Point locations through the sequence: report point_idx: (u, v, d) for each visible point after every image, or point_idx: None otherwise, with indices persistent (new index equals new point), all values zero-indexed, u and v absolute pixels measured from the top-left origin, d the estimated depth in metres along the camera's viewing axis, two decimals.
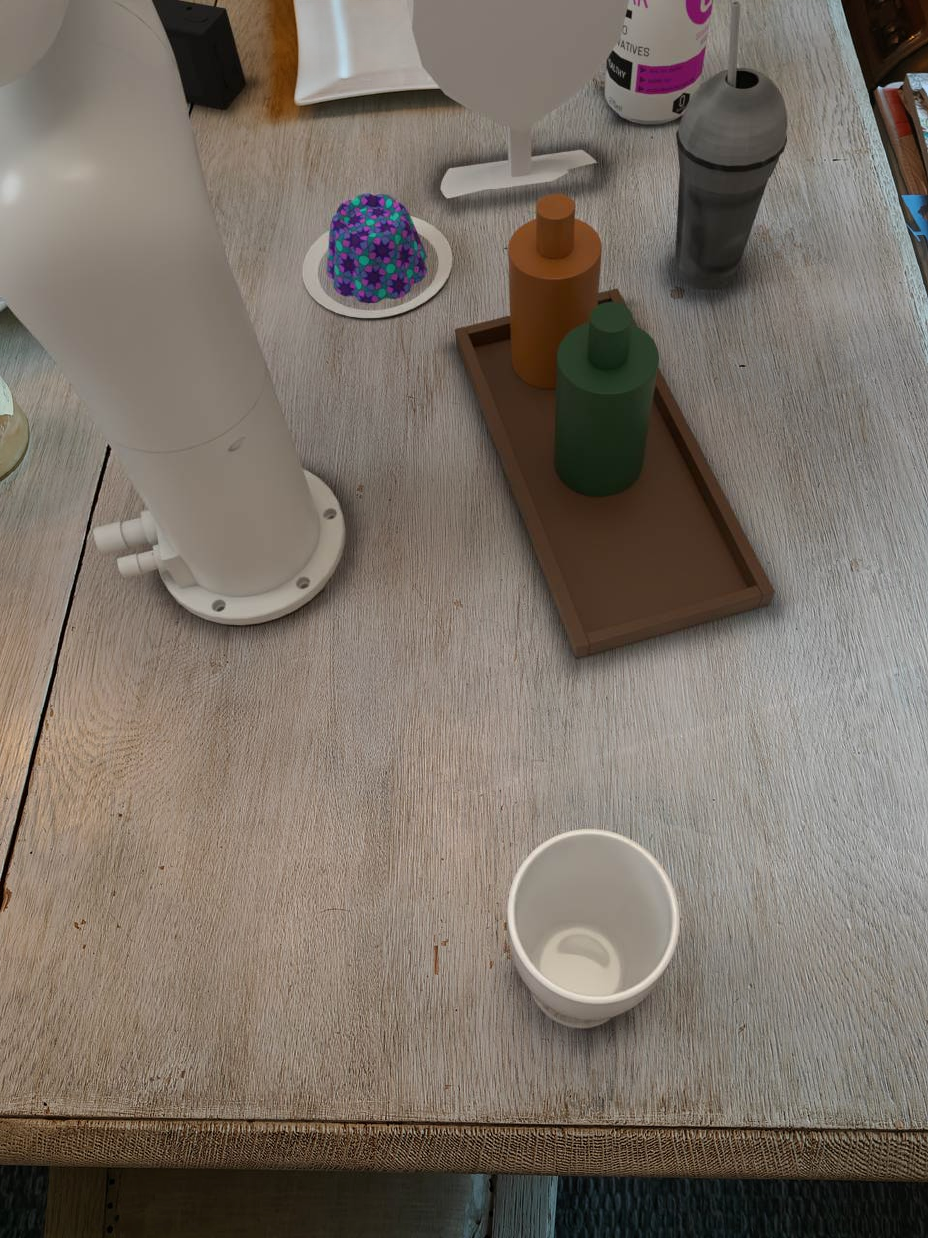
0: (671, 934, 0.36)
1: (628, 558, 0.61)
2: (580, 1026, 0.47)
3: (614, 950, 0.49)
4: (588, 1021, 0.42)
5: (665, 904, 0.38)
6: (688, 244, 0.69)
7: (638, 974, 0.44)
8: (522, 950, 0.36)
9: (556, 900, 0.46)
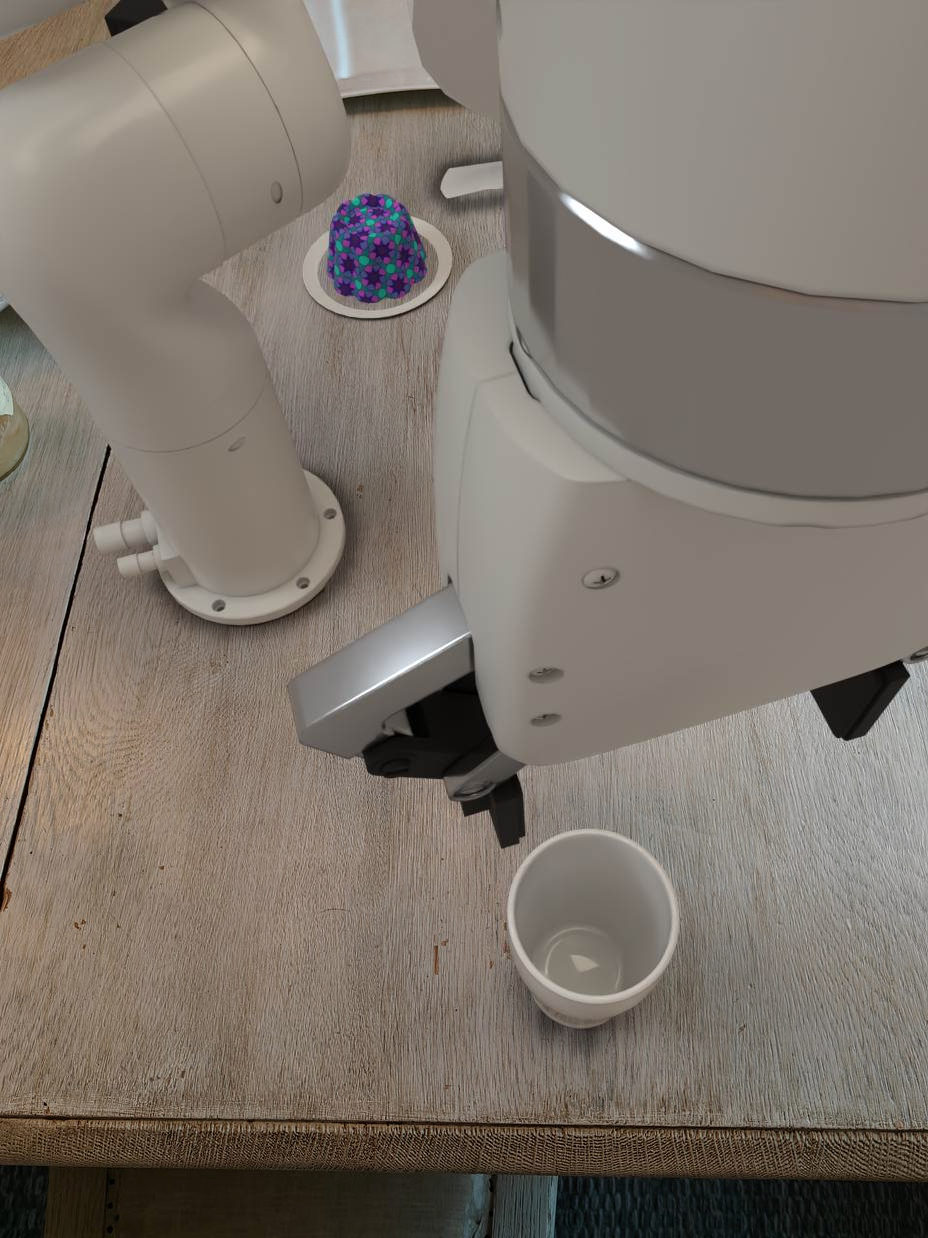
0: (671, 934, 0.36)
1: None
2: (580, 1026, 0.47)
3: (614, 950, 0.49)
4: (588, 1021, 0.42)
5: (665, 904, 0.38)
6: None
7: (638, 974, 0.44)
8: (522, 950, 0.36)
9: (556, 900, 0.46)
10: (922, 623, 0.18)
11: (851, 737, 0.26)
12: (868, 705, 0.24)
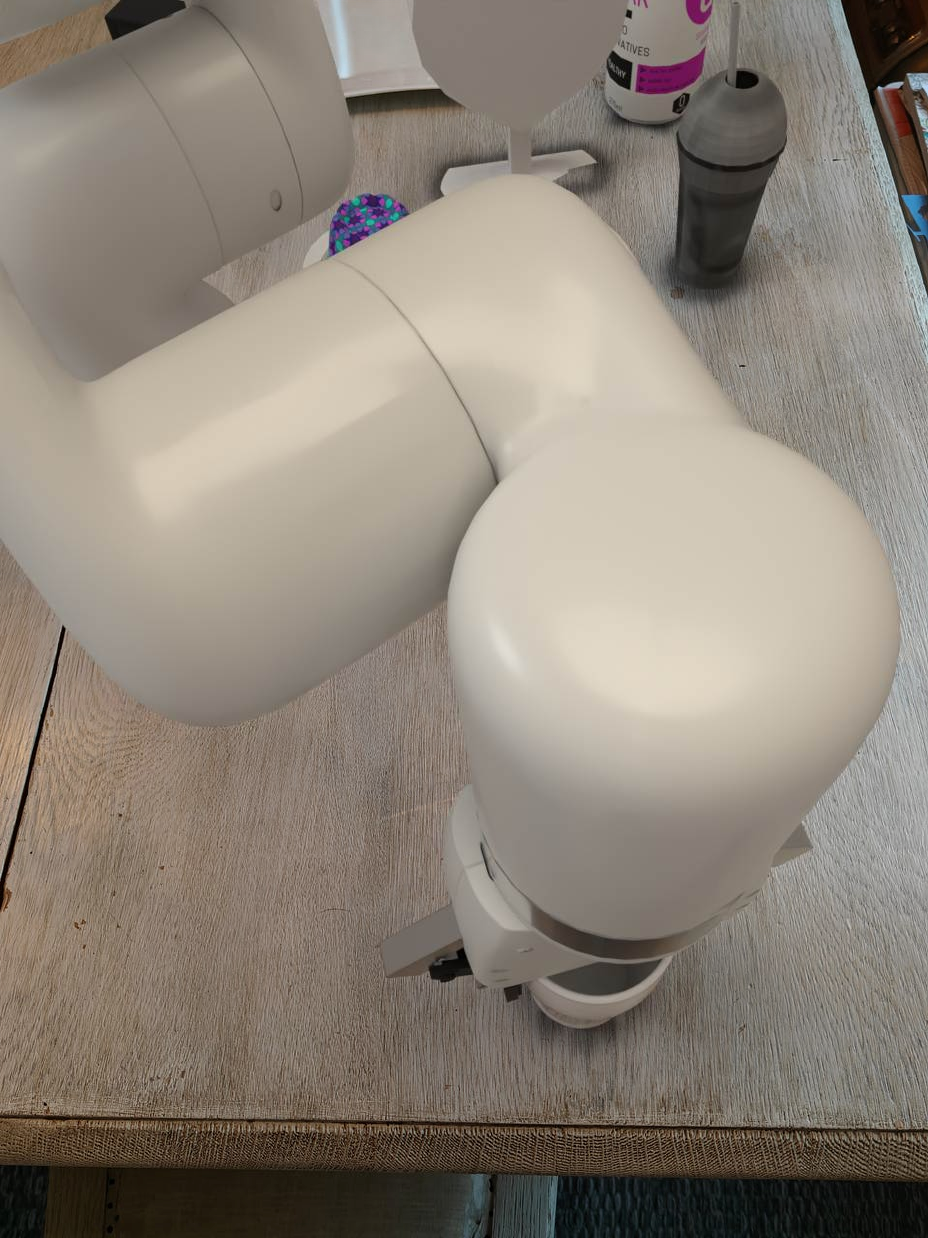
0: None
1: None
2: (580, 1026, 0.47)
3: None
4: (588, 1021, 0.42)
5: None
6: (688, 244, 0.69)
7: (638, 974, 0.44)
8: None
9: None
10: None
11: None
12: None
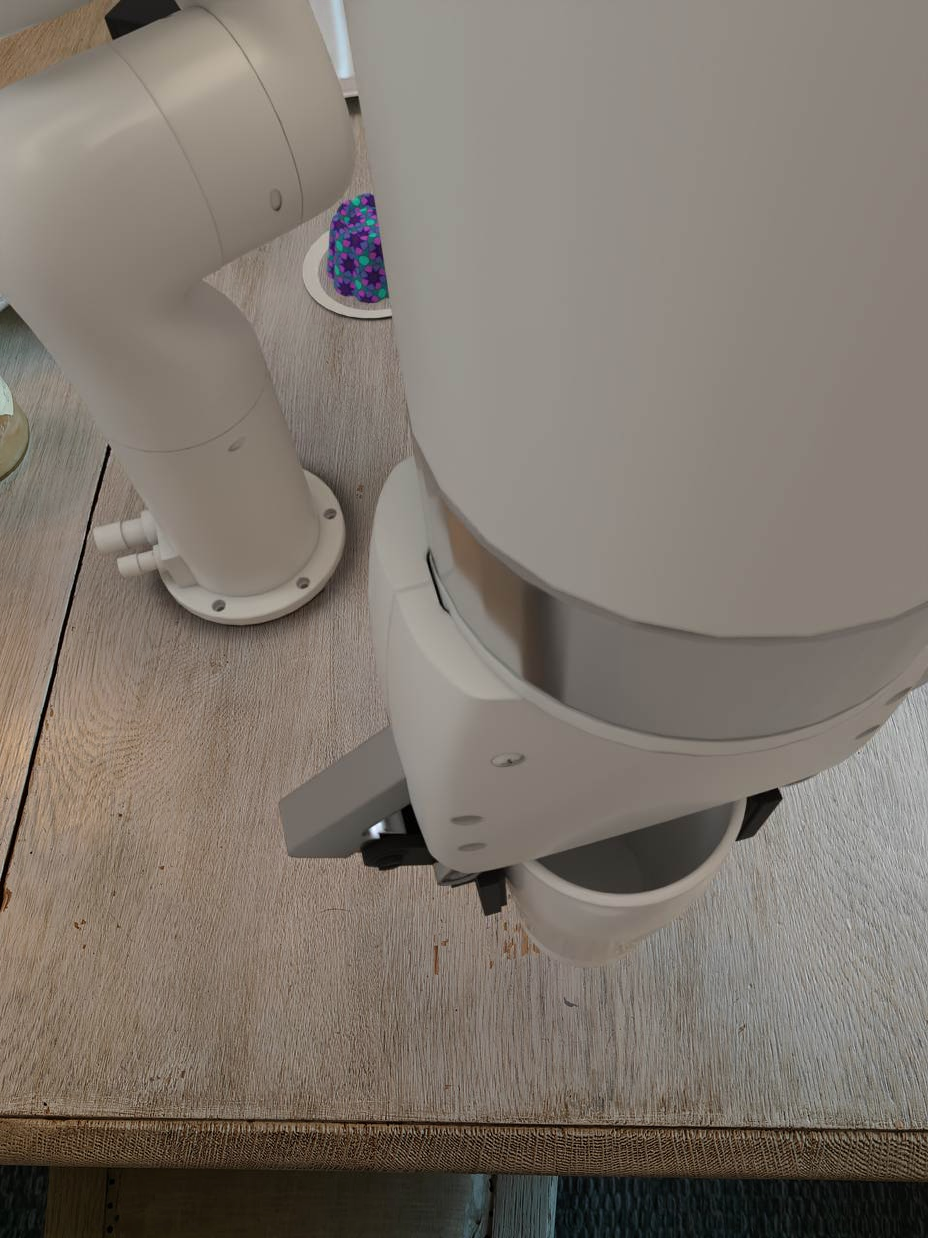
0: (735, 804, 0.24)
1: None
2: (586, 964, 0.35)
3: (631, 865, 0.36)
4: (601, 948, 0.29)
5: None
6: None
7: None
8: None
9: None
10: (826, 755, 0.20)
11: (739, 839, 0.28)
12: (750, 817, 0.26)
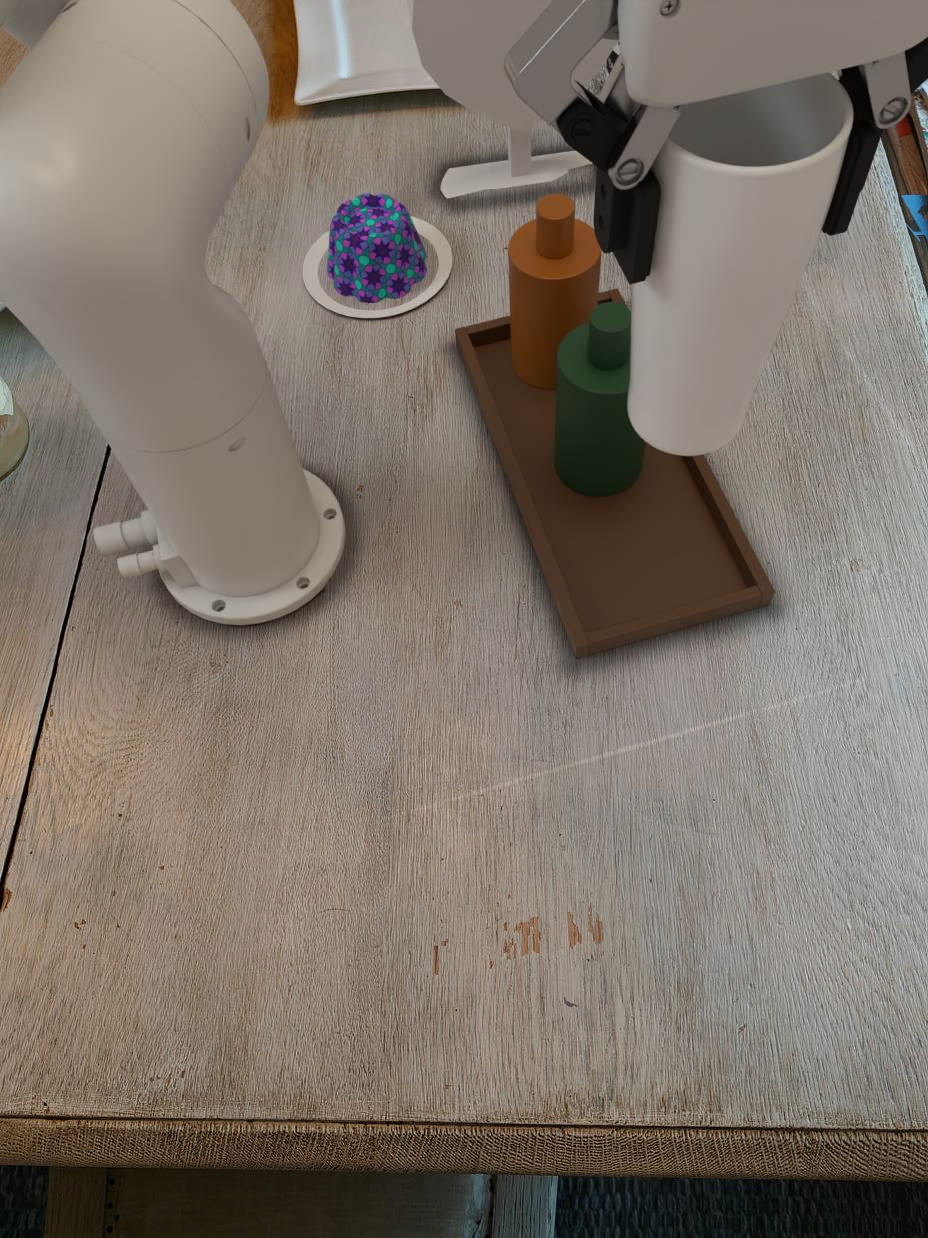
0: (844, 119, 0.30)
1: (628, 558, 0.61)
2: (693, 438, 0.41)
3: None
4: (720, 344, 0.36)
5: (826, 135, 0.32)
6: None
7: None
8: None
9: None
10: None
11: (836, 227, 0.34)
12: (849, 180, 0.33)
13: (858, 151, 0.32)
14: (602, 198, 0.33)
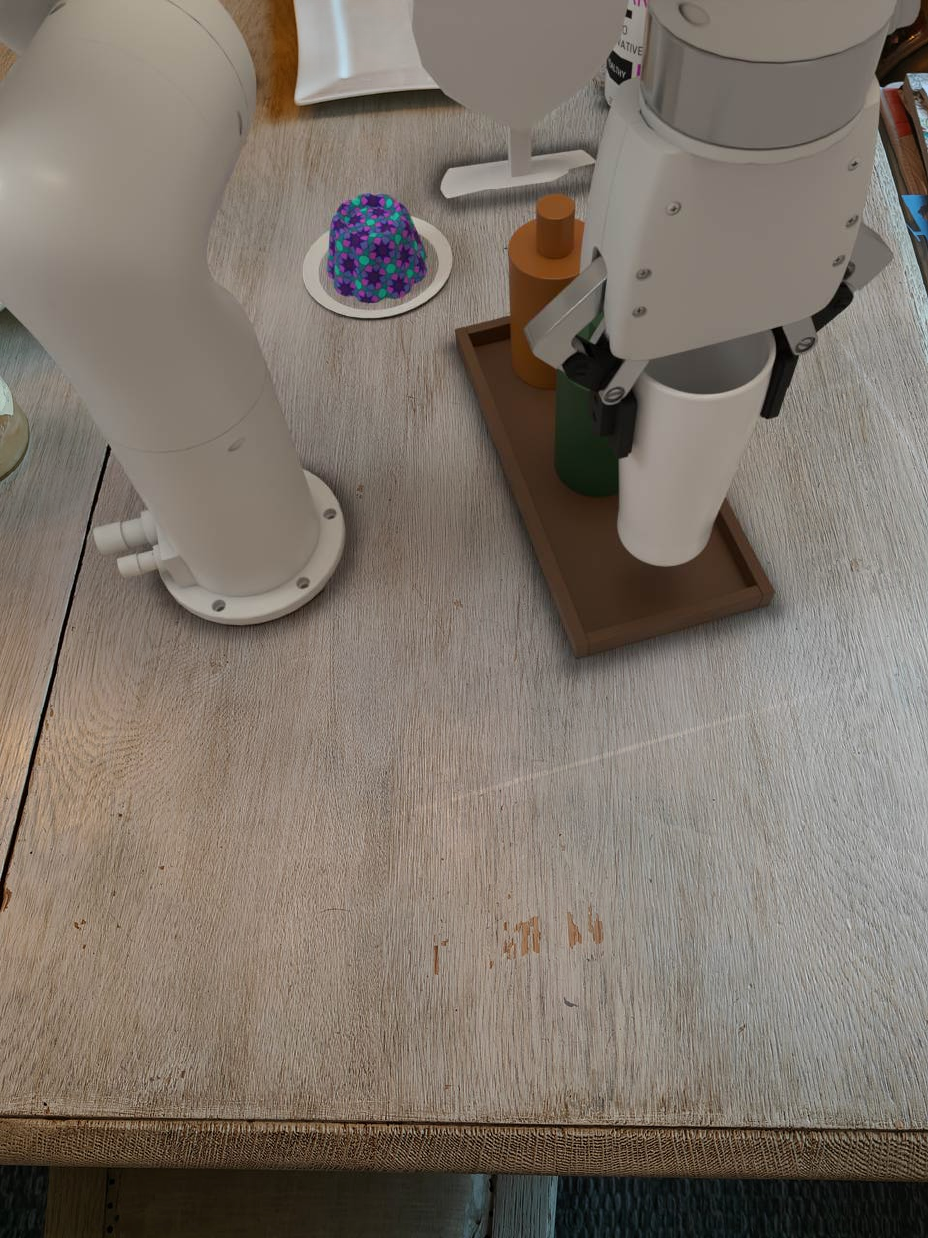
0: (769, 354, 0.42)
1: (628, 558, 0.61)
2: (668, 555, 0.53)
3: None
4: (685, 497, 0.47)
5: (759, 355, 0.44)
6: None
7: None
8: None
9: None
10: (818, 280, 0.38)
11: (770, 414, 0.46)
12: (777, 386, 0.44)
13: (781, 370, 0.43)
14: (595, 402, 0.44)
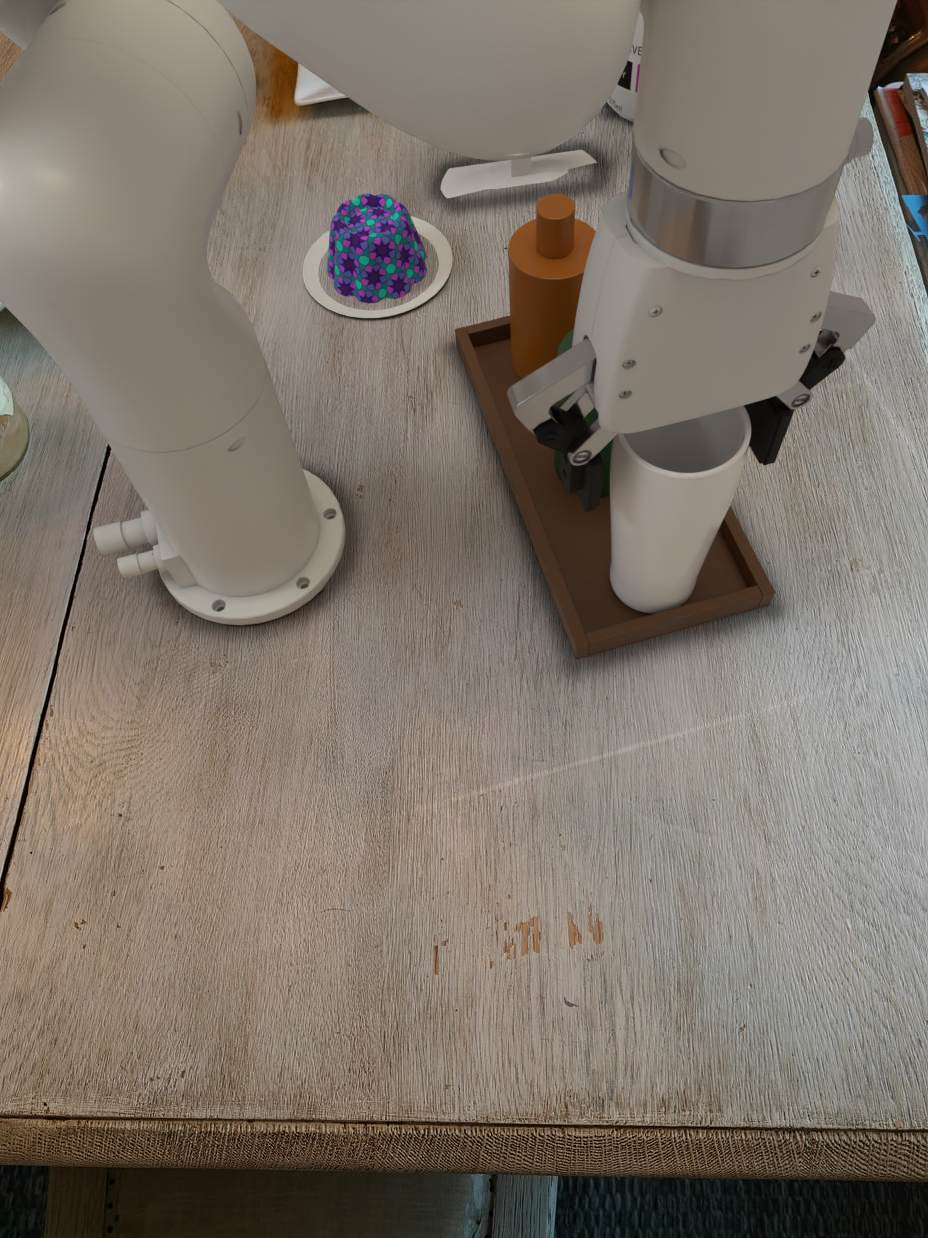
0: (745, 435, 0.47)
1: None
2: (656, 604, 0.58)
3: None
4: (671, 557, 0.52)
5: (737, 433, 0.49)
6: None
7: None
8: (630, 447, 0.47)
9: None
10: (786, 365, 0.42)
11: (767, 461, 0.49)
12: (774, 436, 0.48)
13: (778, 423, 0.47)
14: (565, 461, 0.48)
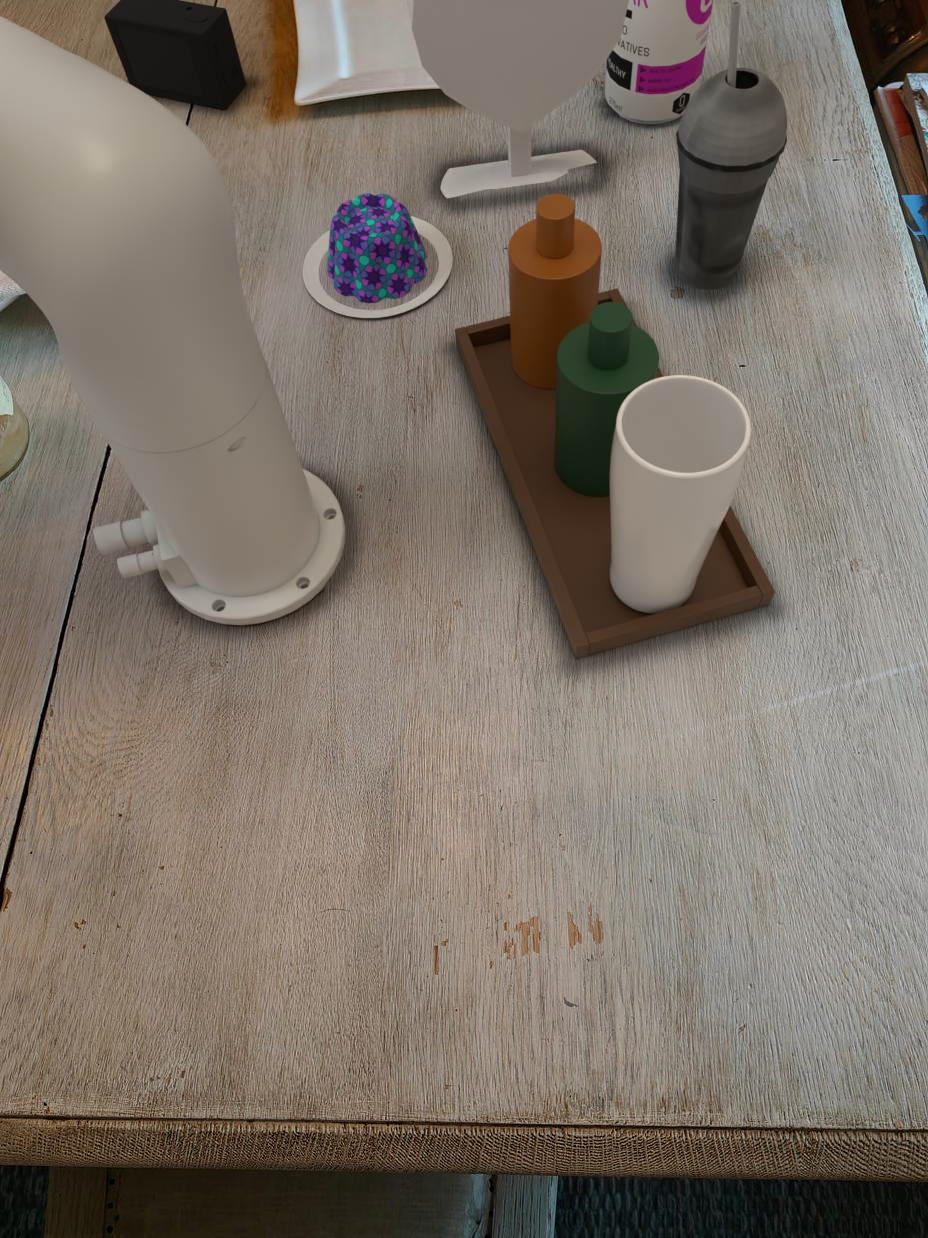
0: (745, 435, 0.47)
1: None
2: (656, 604, 0.58)
3: None
4: (671, 557, 0.52)
5: (737, 433, 0.49)
6: (688, 244, 0.69)
7: None
8: (630, 447, 0.47)
9: None
10: None
11: None
12: None
13: None
14: None
